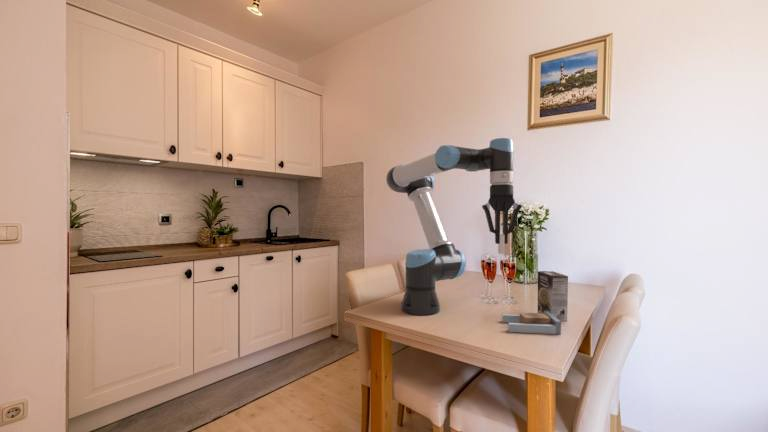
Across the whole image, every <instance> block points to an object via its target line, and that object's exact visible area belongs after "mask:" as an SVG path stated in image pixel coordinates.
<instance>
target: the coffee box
mask: <svg viewBox="0 0 768 432" xmlns="http://www.w3.org/2000/svg"><path fill="white" fill-rule="evenodd" d="M568 292H569V276H568V275H566V274H562V273H560V272H556V271H550V270H549V271H547V270H541V271H540V270H539V271H537V313H544V311H549V312H550V313H551V314H552V315H553V316H555V317H556V318H557V319H558V320H559V321H561V322H567V321H568V303H569V302H568V300H569V299H568V298H569V297H568V296H569V295H568V294H569V293H568Z"/></svg>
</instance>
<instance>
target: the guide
mask: <svg viewBox="0 0 768 432" xmlns="http://www.w3.org/2000/svg"><path fill="white" fill-rule="evenodd" d="M501 314H502V315H501V321H502V323H506V324H507V323H508V325H507V326H508V327H507V328H508V329H507V330H508V332H509V333H524V334H525V333H527V334H542V335H543V334H544V335H545V334H547V335H548V334H549V335H553V334H554V335H561V333H562V331H561V330H562V321H559V320H558V319H557V318H556V317H555V316H553V315H552V314H551V313H550V312H549V311H544V314H545V315H547V316H548V317H549V318H550V324H529V323H520V314H512V313H511V314H510V313H501Z"/></svg>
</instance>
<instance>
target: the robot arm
mask: <svg viewBox="0 0 768 432" xmlns="http://www.w3.org/2000/svg"><path fill="white" fill-rule="evenodd" d="M514 152H515V151H514V141H513V140H512V139H511V138H509V137H508V138H507V137H500V138H499V137H498V138H494V139H492V140H490V141H489V147H485V148H480V149H478V148H469V147H464V146H463V147H462V146H455V145H450V144H449V145H446V144H445V145H444V144H443V145H441V146H439V147H438V149H437V150H436V151H435V152H434V153H431V154H429V155H428V156H425V157H422V158H420V159H417V160H415V161H412V162H410V163H407V164H405V165H403V164H398V165H396V166H394V167H392V168H391V169H389V170H388V172H387V174H386V178H385V180H386V183H387V184H386V185H387V186H388V187H389V189H390V190H391V191H394V192H395V193H398V194H399V193H402V194H407V197H408V200H409V201H411V202H413V204H414V207H415V210H416V213H417V216H418V218H419V221H420V222H419V223H420V226H421V228H422V230H423V233H424V236H425V238H426V241H427V245H428V246H429V247H428V248H420V249H414V250H411V251H409V252H408V253H407V254H406V255H405V264H404V265H405V291H404V295H403V298H402V300H401V305H400V306H401V311H402V312H404V313H406V314H409V315H416V316H428V315H430V316H431V315H434V314H438V313H439V312H440V311H441V309H440V307H441V304H440V300H439V298H438V294H437V292H436V282H438V281H445V280H454V279H456V278H457V279H458V278H459V277H461V276H462V275H463V274H464V273H465V269H466V267H467V262H466V261H467V260H466V257H465V255H464V253H463V252H462V251H461V250H459V249H456V248H455V244H454V242H452V241H449V239H448V236H447V233H446V231H445V228H444V226H443V223H442V220H441V218H440V216H439V213H438V212H439V211H438V210H437V207H436V205H435V202H434V199H433V196H432V193H433V191H434V188H435V187H434V186H435V184H434V183H435V178H434V176H435V175H438V174H441V173H444V172H447V171H450V170H455V169H456V170H457V169H458V170H465V171H466V172H478V171H485V170H489V184H490V186H489V199H488V202H486V203H484V204H483V205H481V208H482V210H483V212H484V213H485V218H486V222H487V226H488V229H489V232H490V233H492V234H494V236H495V237H494V239H495V240H494V243H495V244H496V245H498V246H497V252H498V254H499V255H505V248H506V247H505V246H506V245H507V244H508V239H509V237H508V235H509V234H511V233H513V232H514V230H515V227H516V223H517V219H518V215H519V211H520V210H521V209H522V207H523V206H522V204H518V203H517V202H516V201H515V199H514V185H513V183H514ZM491 208H492V210H493V211H494V223H493V218H492V214H491V211H490V209H491ZM511 208H513V211H512V214H511V217H510V222H509V211H510V209H511ZM501 212H502V233H501Z"/></svg>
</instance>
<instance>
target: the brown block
mask: <svg viewBox="0 0 768 432" xmlns="http://www.w3.org/2000/svg"><path fill="white" fill-rule="evenodd" d="M519 315H520V323H529V324H550V318H549V317H548V316H547V315H545V314H544V313H538V312H537V313H535V312H532V313H531V312H519Z"/></svg>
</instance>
